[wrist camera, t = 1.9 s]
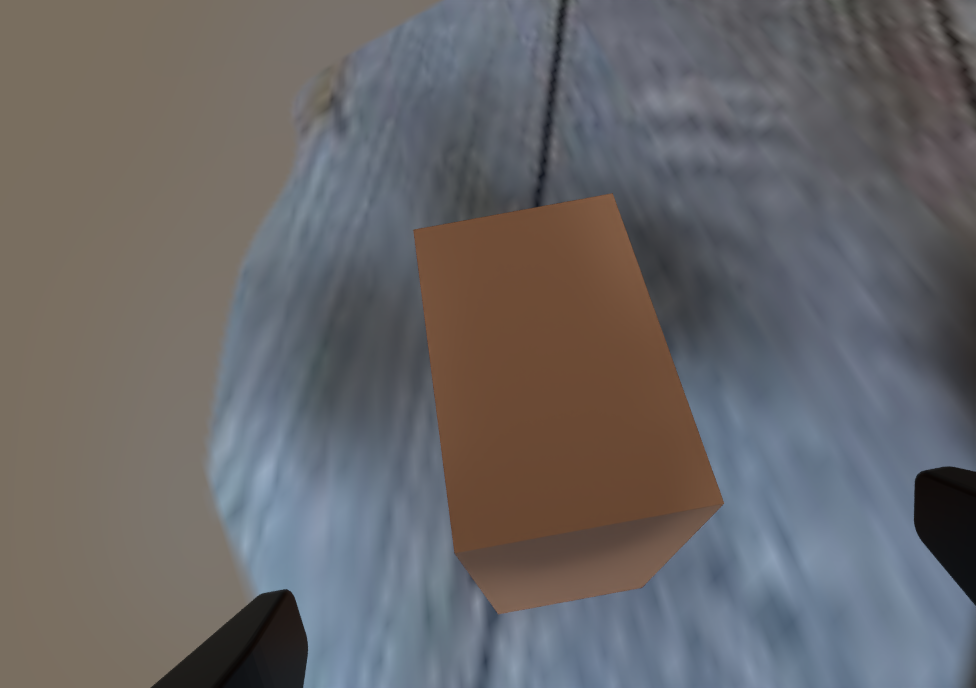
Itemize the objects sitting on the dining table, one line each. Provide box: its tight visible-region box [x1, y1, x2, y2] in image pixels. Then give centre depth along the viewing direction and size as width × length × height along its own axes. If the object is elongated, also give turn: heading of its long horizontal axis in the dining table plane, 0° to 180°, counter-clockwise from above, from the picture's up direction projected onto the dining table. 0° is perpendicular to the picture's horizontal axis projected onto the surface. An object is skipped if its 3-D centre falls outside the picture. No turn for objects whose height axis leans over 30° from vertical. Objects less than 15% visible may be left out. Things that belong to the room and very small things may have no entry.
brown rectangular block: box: [414, 193, 724, 614], centre depth 16 cm, size 7×4×10 cm, turn 9°
